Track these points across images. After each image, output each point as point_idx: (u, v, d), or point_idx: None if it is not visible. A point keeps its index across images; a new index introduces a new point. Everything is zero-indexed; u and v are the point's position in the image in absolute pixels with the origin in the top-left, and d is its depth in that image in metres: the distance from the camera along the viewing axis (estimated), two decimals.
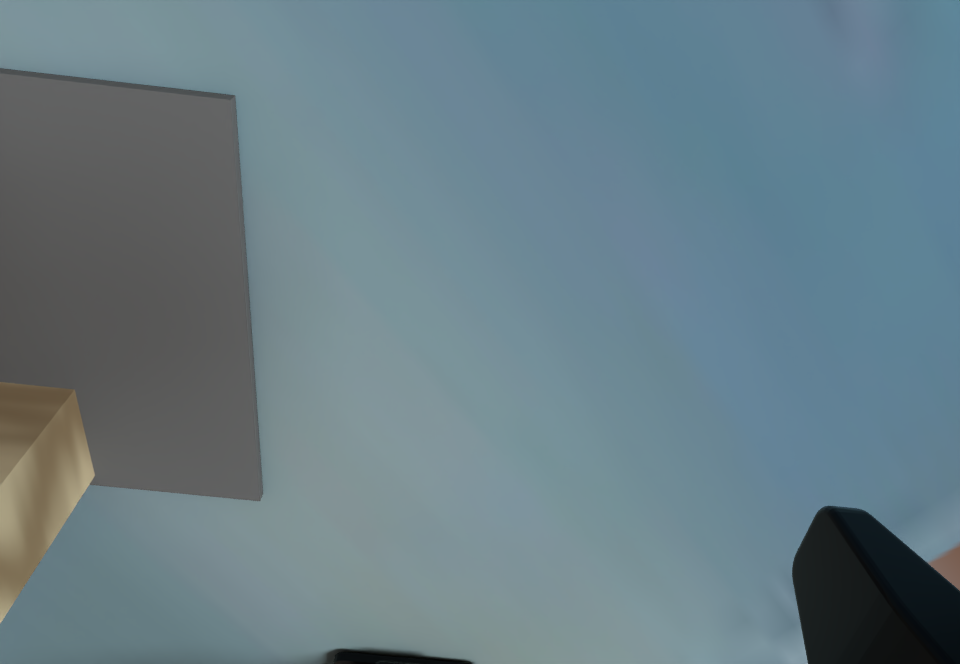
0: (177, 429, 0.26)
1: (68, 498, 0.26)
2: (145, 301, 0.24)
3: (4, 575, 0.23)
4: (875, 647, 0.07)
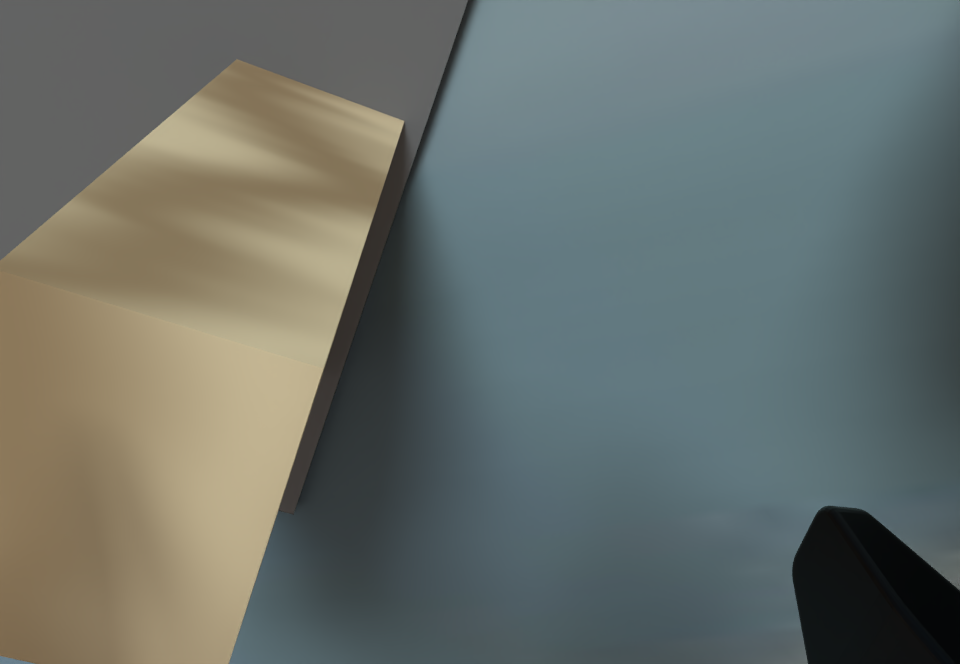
0: None
1: (366, 136, 0.16)
2: None
3: (305, 195, 0.13)
4: (875, 647, 0.07)
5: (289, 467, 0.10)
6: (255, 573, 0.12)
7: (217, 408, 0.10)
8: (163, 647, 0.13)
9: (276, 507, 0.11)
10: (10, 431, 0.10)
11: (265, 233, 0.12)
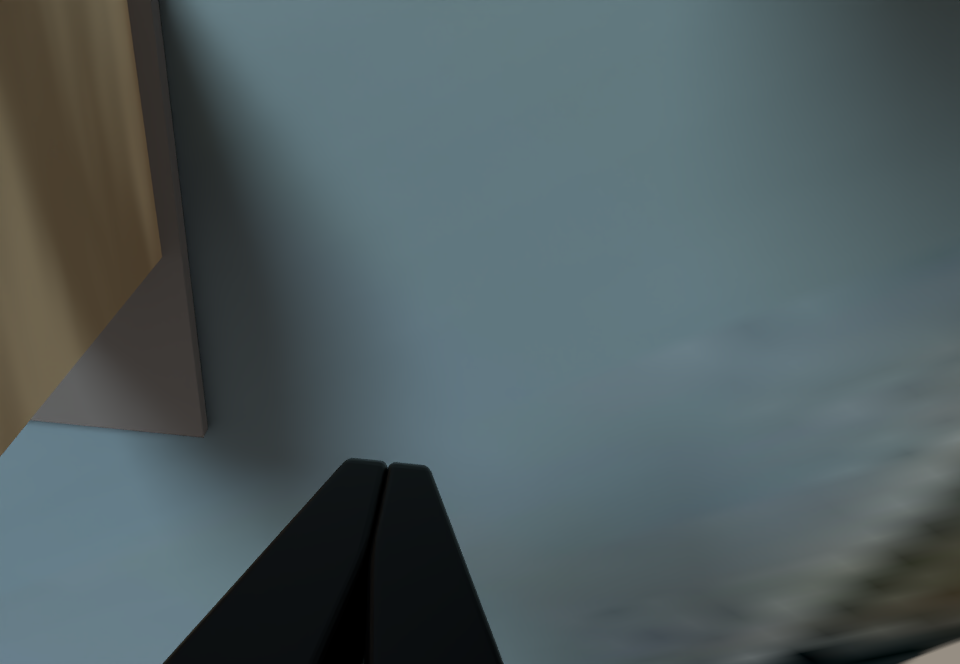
0: None
1: None
2: None
3: None
4: (367, 599, 0.06)
5: None
6: None
7: None
8: None
9: None
10: None
11: None
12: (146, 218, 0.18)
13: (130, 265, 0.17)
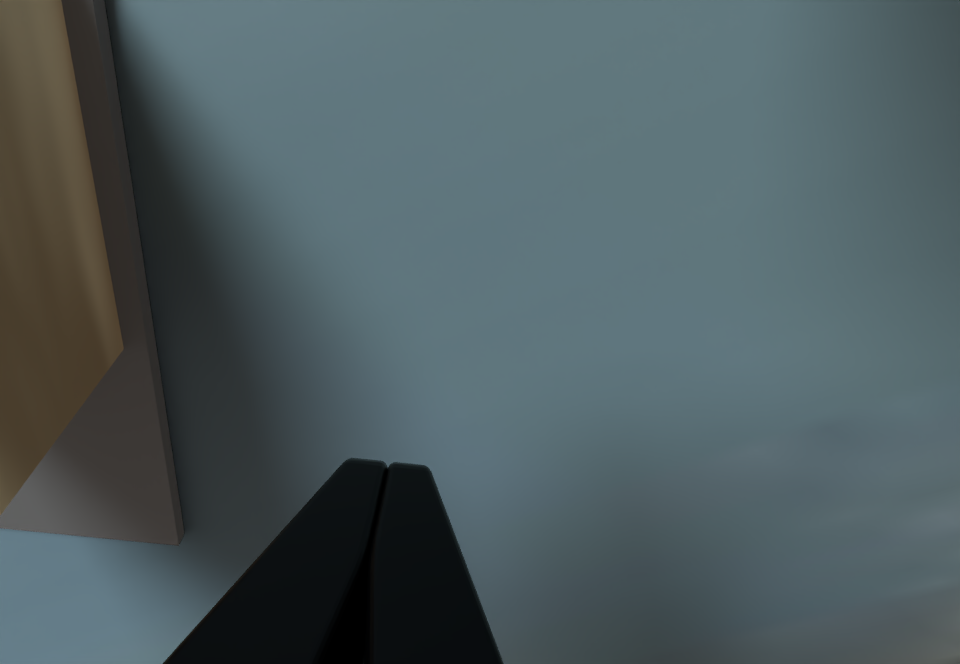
0: None
1: None
2: None
3: None
4: (367, 599, 0.06)
5: None
6: None
7: None
8: None
9: None
10: None
11: None
12: (101, 308, 0.15)
13: (79, 371, 0.14)
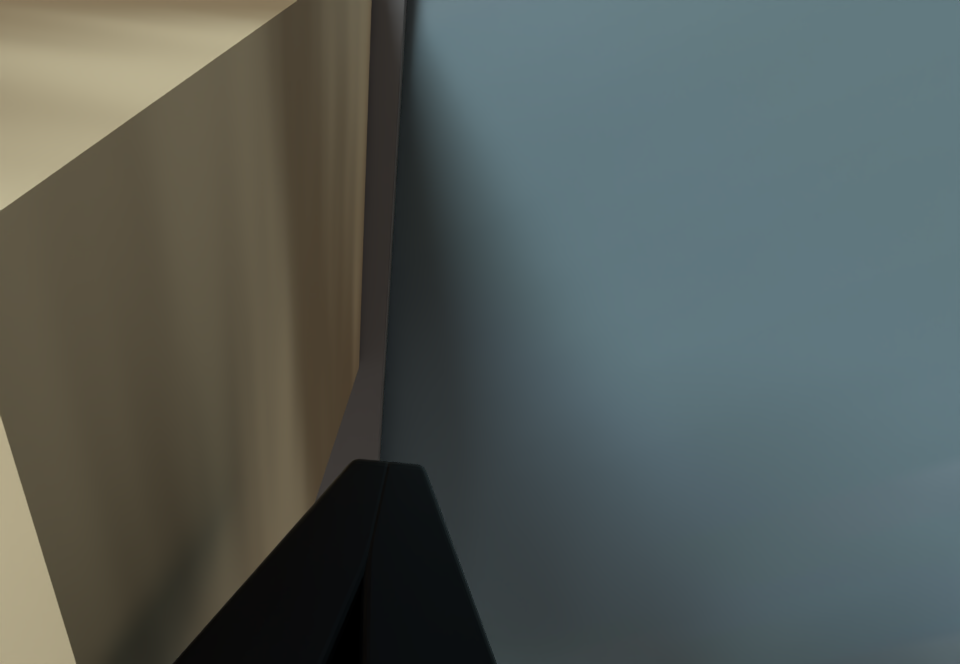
0: None
1: None
2: None
3: (135, 3, 0.07)
4: None
5: (30, 541, 0.04)
6: None
7: None
8: None
9: (64, 632, 0.05)
10: None
11: None
12: (355, 329, 0.15)
13: (342, 392, 0.14)
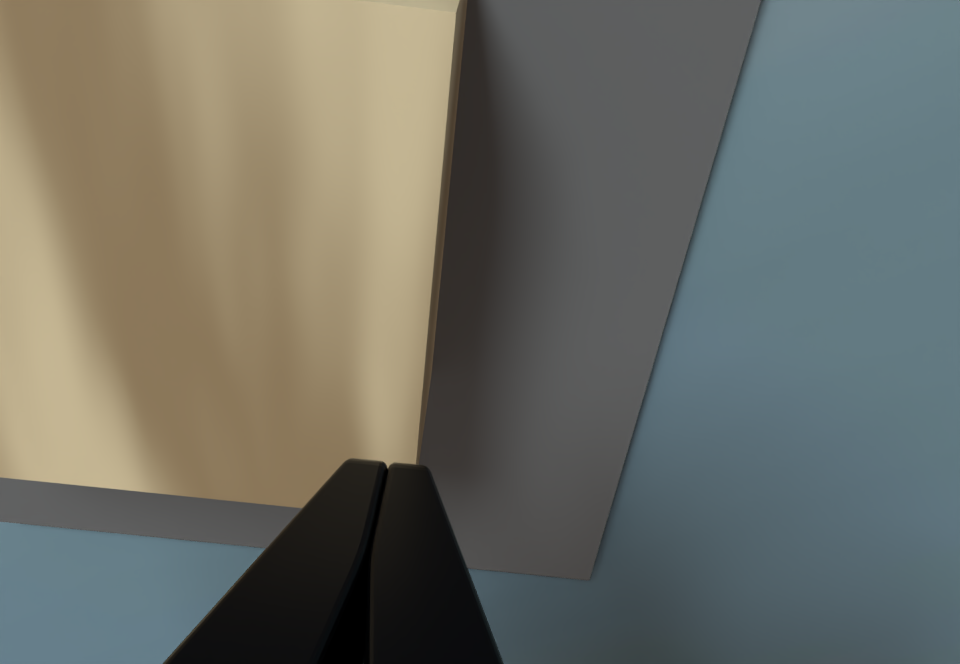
0: None
1: None
2: None
3: None
4: (367, 599, 0.06)
5: None
6: None
7: None
8: None
9: None
10: None
11: None
12: (382, 457, 0.12)
13: (309, 480, 0.12)
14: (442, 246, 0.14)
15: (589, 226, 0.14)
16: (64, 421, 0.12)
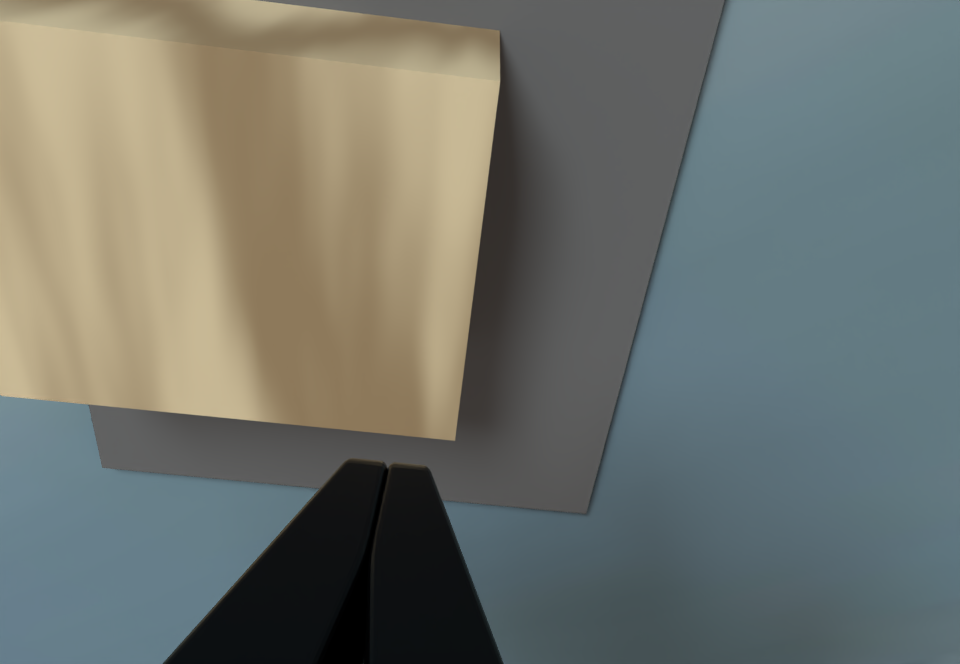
0: None
1: (399, 58, 0.13)
2: None
3: (195, 26, 0.13)
4: None
5: None
6: None
7: None
8: None
9: None
10: None
11: (101, 10, 0.14)
12: (436, 391, 0.16)
13: (380, 410, 0.17)
14: None
15: (585, 223, 0.18)
16: (204, 365, 0.16)
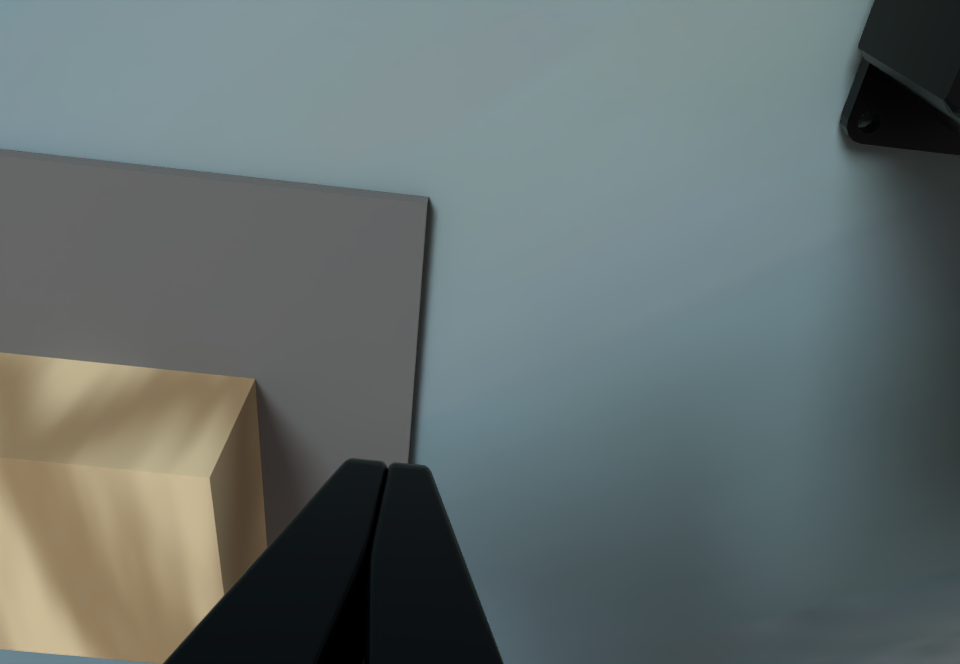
0: (301, 284, 0.20)
1: (147, 451, 0.19)
2: (105, 277, 0.20)
3: (8, 422, 0.19)
4: (367, 599, 0.06)
5: None
6: None
7: None
8: None
9: None
10: None
11: None
12: None
13: None
14: (256, 508, 0.24)
15: None
16: (39, 625, 0.22)
